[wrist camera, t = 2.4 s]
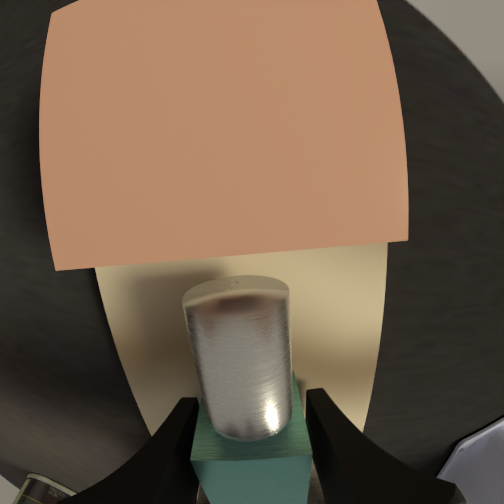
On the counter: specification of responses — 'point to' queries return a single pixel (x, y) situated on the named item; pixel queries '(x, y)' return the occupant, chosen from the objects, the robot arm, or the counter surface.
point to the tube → (247, 393)
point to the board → (301, 314)
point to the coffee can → (41, 491)
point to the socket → (218, 130)
